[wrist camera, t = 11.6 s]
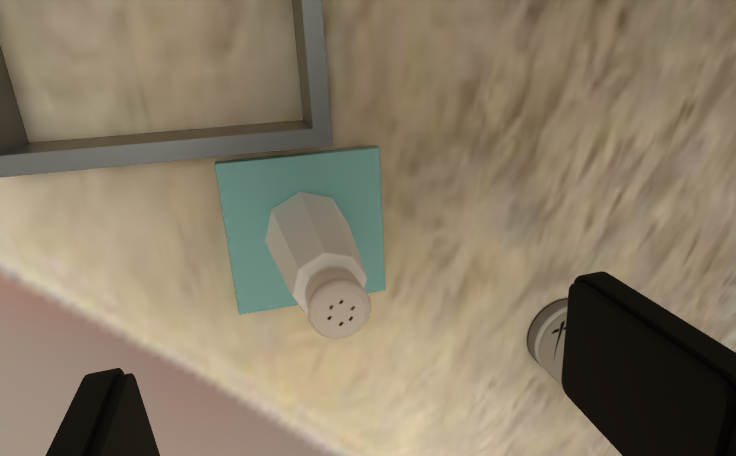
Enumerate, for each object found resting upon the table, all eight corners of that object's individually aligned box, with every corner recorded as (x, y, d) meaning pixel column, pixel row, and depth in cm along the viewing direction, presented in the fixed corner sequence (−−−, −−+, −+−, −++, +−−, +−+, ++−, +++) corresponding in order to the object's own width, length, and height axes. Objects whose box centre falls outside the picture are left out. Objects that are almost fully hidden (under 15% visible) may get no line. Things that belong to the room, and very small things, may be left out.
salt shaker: (246, 243, 30) (252, 335, 20) (296, 173, 30) (327, 231, 19) (316, 283, 32) (353, 384, 22) (364, 219, 32) (424, 292, 22)
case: (298, -133, 25) (308, -166, 22) (320, 135, 30) (332, 145, 26) (-82, -146, 21) (-147, -188, 18) (12, 163, 26) (-24, 179, 23)
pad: (375, 146, 31) (379, 147, 30) (382, 285, 34) (385, 289, 34) (215, 161, 29) (214, 164, 28) (239, 308, 32) (239, 314, 32)
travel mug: (519, 312, 38) (776, 539, 20) (591, 288, 40) (897, 483, 21) (525, 374, 41) (761, 629, 22) (593, 350, 42) (870, 574, 24)
